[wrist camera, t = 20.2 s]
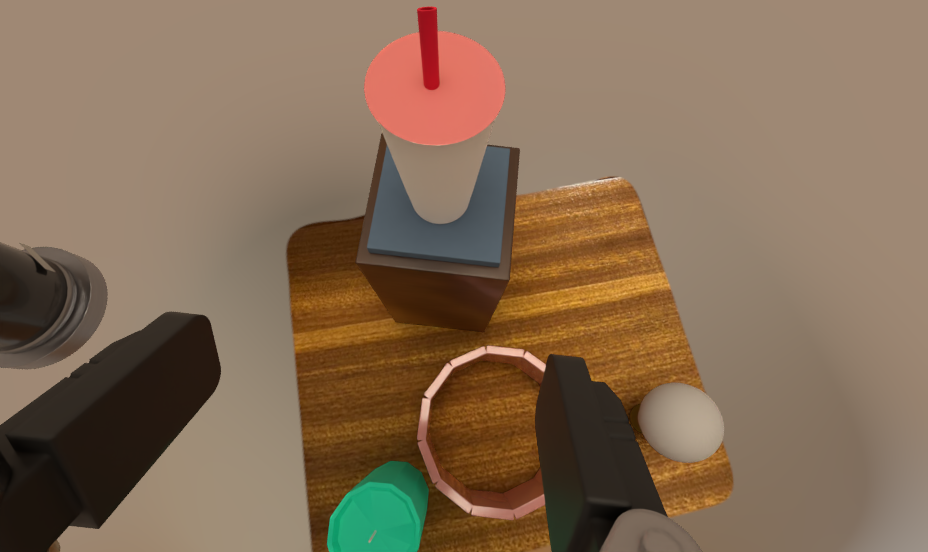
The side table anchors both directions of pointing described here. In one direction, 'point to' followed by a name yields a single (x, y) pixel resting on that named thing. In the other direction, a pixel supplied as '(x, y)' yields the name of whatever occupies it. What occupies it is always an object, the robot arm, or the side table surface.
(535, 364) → the pink segmented ring
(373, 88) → the cup
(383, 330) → the side table surface
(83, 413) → the robot arm
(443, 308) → the stand
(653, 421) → the light bulb
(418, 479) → the candle
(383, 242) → the coaster
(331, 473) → the side table surface
